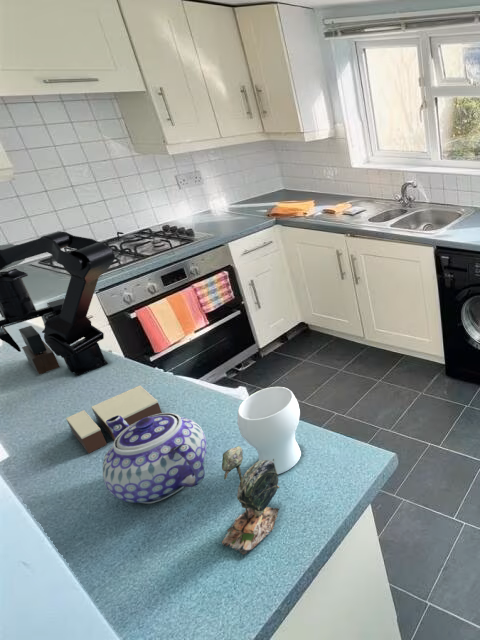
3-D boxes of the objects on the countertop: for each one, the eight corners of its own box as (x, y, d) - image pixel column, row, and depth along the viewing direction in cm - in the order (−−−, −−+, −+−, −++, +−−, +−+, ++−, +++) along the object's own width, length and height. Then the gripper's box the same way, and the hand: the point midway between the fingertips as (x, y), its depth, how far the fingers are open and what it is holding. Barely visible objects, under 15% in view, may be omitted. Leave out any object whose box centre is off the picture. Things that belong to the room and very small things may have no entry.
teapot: (246, 472, 85) (228, 414, 80) (161, 541, 72) (133, 477, 66) (171, 432, 95) (150, 377, 89) (83, 486, 82) (53, 426, 76)
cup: (319, 451, 90) (307, 395, 85) (272, 490, 81) (256, 430, 76) (287, 433, 95) (274, 378, 89) (239, 468, 86) (222, 409, 81)
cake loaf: (145, 399, 104) (140, 385, 103) (163, 416, 99) (157, 400, 98) (98, 422, 97) (91, 406, 95) (114, 440, 92) (107, 424, 91)
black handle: (45, 356, 119) (31, 325, 116) (54, 365, 115) (39, 334, 112) (33, 360, 117) (18, 329, 114) (41, 370, 113) (26, 338, 110)
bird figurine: (301, 506, 78) (281, 422, 71) (241, 563, 69) (211, 473, 62) (272, 489, 82) (250, 407, 74) (211, 541, 72) (179, 453, 65)
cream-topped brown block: (91, 425, 96) (84, 409, 95) (107, 444, 91) (99, 428, 90) (73, 433, 94) (65, 418, 92) (88, 453, 89) (80, 437, 87)
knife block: (49, 355, 121) (42, 340, 119) (60, 367, 116) (53, 351, 114) (29, 362, 118) (21, 347, 116) (39, 374, 113) (31, 359, 111)
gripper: (52, 274, 120) (72, 322, 126) (-52, 300, 105) (-24, 353, 111) (64, 284, 114) (85, 333, 120) (-44, 312, 100) (-14, 367, 106)
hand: (35, 345), depth 114 cm, fingers open, 6 cm apart
